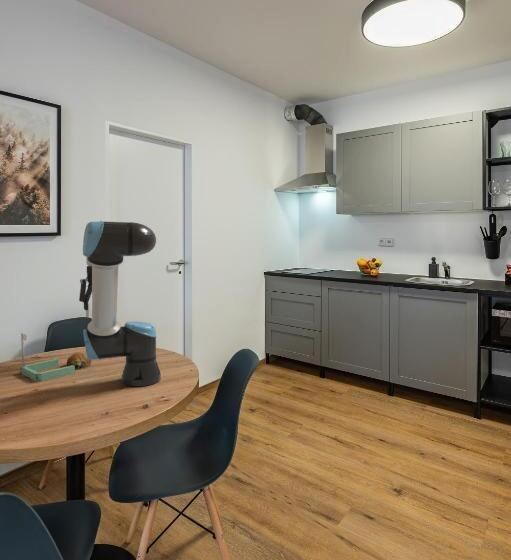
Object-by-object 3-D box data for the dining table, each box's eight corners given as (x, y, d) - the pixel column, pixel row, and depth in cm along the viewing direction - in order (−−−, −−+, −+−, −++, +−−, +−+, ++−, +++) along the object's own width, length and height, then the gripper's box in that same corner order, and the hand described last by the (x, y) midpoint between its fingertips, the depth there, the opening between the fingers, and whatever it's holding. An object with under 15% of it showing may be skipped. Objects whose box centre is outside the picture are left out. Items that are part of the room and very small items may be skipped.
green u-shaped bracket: (74, 373, 173) (73, 333, 172) (37, 382, 162) (35, 339, 160) (56, 365, 183) (55, 327, 182) (20, 373, 172) (18, 333, 170)
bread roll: (93, 372, 186) (96, 354, 189) (82, 369, 176) (86, 350, 179) (72, 371, 187) (76, 353, 190) (60, 368, 177) (64, 349, 180)
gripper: (111, 264, 196) (112, 312, 198) (69, 265, 180) (70, 317, 182) (120, 264, 191) (121, 313, 193) (77, 266, 175) (79, 320, 178)
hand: (96, 315), depth 188 cm, fingers open, 8 cm apart
